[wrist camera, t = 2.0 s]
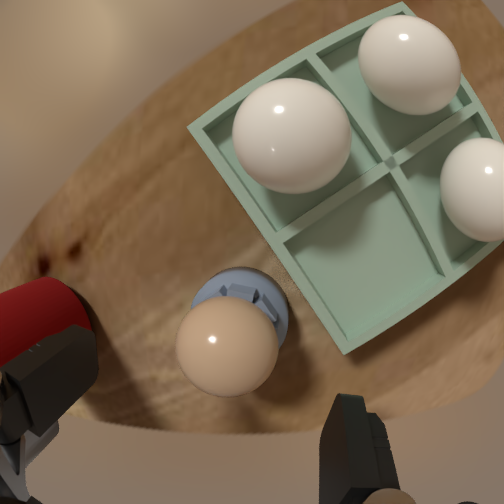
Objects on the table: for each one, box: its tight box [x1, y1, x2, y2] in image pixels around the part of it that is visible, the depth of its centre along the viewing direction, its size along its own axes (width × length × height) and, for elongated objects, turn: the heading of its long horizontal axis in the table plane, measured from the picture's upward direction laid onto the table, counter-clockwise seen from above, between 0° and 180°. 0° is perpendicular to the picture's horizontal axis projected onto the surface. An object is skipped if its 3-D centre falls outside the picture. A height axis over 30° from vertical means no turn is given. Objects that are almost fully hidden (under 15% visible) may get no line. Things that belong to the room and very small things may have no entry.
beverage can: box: [0, 277, 92, 367], centre depth 13 cm, size 7×7×12 cm
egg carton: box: [187, 2, 504, 355], centre depth 13 cm, size 12×12×3 cm
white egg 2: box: [358, 15, 461, 115], centre depth 10 cm, size 4×4×4 cm
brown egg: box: [175, 296, 279, 397], centre depth 13 cm, size 4×4×4 cm
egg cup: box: [191, 267, 289, 349], centre depth 16 cm, size 5×5×3 cm
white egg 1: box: [232, 78, 352, 194], centre depth 11 cm, size 4×4×4 cm
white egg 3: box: [439, 137, 504, 242], centre depth 10 cm, size 4×4×4 cm
